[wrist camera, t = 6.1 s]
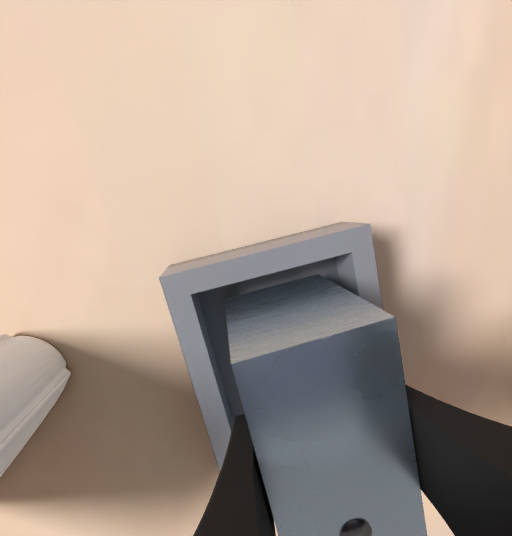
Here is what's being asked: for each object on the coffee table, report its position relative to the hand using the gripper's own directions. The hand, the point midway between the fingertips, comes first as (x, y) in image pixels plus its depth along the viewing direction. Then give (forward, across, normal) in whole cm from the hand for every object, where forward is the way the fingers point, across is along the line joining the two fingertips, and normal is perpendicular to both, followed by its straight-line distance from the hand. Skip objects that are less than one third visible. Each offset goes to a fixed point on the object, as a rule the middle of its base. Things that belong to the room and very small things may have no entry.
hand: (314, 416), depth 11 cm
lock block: (+3, 0, 0) cm, 3 cm away
